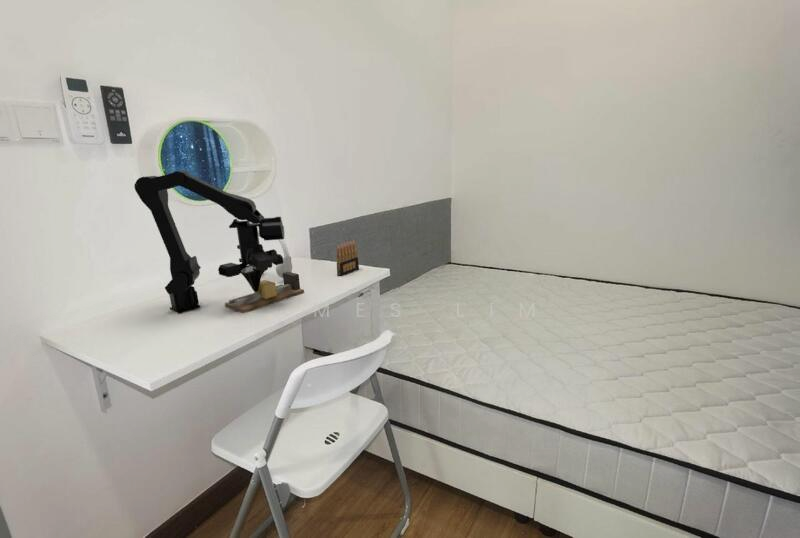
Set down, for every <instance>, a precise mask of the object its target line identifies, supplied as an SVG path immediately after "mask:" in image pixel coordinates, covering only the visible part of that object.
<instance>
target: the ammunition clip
mask: <svg viewBox="0 0 800 538" xmlns="http://www.w3.org/2000/svg"><path fill="white" fill-rule="evenodd" d="M343 242H344V243H340V244H339V243H338V244H337V247H336V260H337V261H336V276H337V277H344V276H346V275H348V274H351V273H353V272H357V271H359V270H360V266H359V257H358V252H357V251H358V250H357V243H356V241H355V239H353V240H350V241H347V242H346V241H343Z"/></svg>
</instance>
